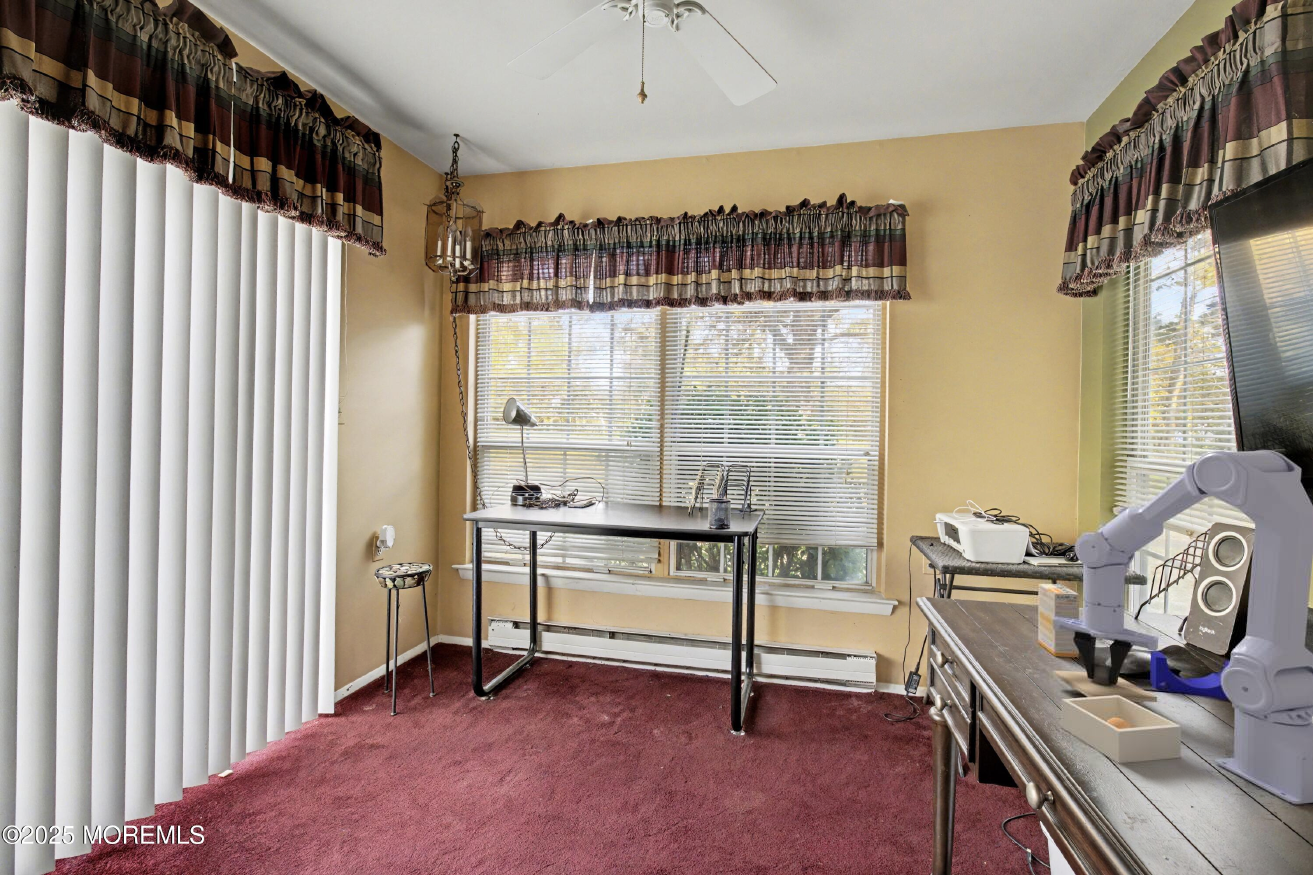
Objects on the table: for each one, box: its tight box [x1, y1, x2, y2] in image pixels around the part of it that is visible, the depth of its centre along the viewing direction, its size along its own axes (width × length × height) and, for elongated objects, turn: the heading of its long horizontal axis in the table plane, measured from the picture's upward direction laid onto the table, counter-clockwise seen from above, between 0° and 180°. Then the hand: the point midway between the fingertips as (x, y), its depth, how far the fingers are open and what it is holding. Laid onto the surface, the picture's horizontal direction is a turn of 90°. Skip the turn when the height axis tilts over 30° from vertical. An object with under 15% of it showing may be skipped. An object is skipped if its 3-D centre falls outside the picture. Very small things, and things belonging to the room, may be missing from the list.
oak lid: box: [1052, 662, 1158, 703], centre depth 104 cm, size 10×10×4 cm
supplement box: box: [1037, 583, 1080, 659], centre depth 126 cm, size 8×5×13 cm, turn 168°
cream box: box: [1060, 695, 1182, 764], centre depth 90 cm, size 10×10×4 cm
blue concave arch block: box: [1149, 650, 1230, 701], centre depth 107 cm, size 12×4×6 cm, turn 65°
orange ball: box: [1107, 718, 1130, 729], centre depth 90 cm, size 3×3×3 cm
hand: (1102, 679), depth 104 cm, fingers closed on oak lid, 3 cm apart
